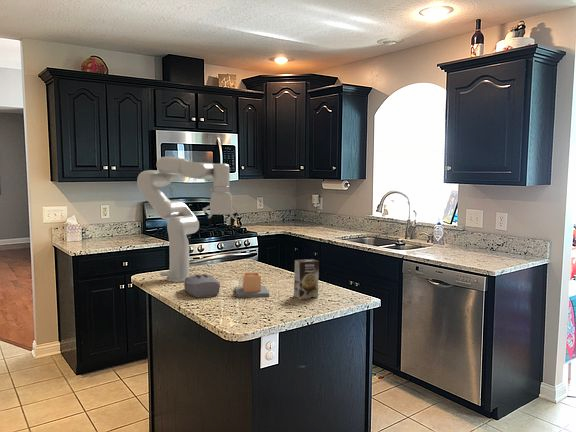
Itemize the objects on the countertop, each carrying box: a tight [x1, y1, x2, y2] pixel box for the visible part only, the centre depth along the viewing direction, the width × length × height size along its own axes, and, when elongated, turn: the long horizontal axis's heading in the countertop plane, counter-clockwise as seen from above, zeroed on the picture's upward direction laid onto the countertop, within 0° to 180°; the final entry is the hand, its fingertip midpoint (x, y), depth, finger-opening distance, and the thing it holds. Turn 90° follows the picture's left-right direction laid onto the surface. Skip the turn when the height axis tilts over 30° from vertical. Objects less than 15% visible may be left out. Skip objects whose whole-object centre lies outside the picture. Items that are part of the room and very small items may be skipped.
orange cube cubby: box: [242, 272, 262, 292], centre depth 212 cm, size 7×7×7 cm
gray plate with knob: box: [234, 285, 270, 298], centre depth 212 cm, size 14×14×8 cm
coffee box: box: [293, 258, 320, 300], centre depth 207 cm, size 9×6×16 cm
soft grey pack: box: [183, 273, 221, 299], centre depth 213 cm, size 15×8×20 cm
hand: (221, 226), depth 224 cm, fingers open, 9 cm apart
